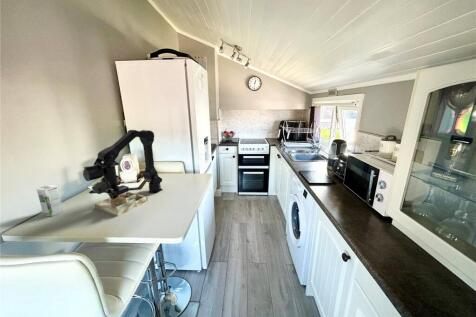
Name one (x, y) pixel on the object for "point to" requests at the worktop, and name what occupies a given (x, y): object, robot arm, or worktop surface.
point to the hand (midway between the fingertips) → (114, 202)
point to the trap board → (131, 202)
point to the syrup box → (50, 200)
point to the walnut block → (117, 202)
